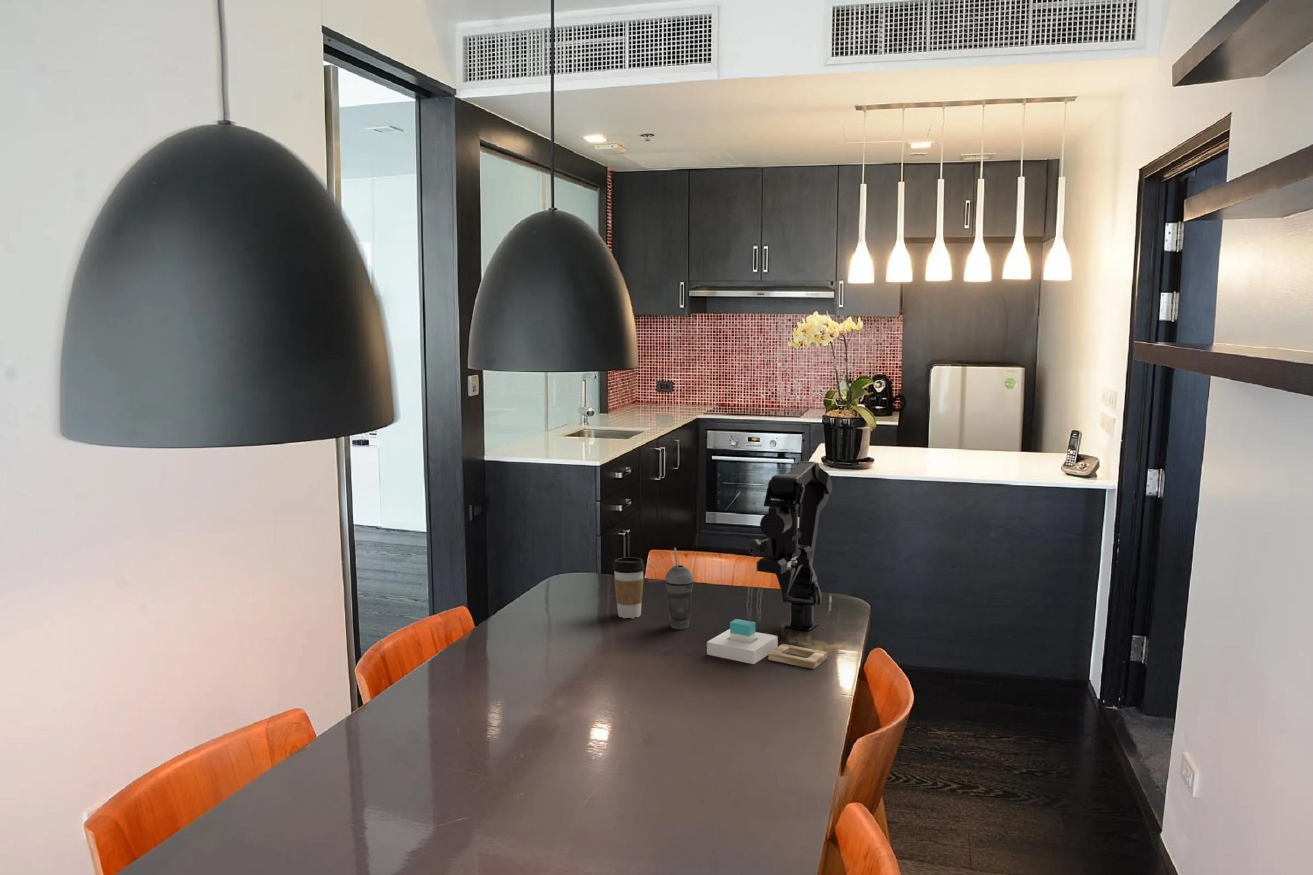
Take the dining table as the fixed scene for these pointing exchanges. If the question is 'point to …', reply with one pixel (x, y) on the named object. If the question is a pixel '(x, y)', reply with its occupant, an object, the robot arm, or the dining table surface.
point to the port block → (742, 647)
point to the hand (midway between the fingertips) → (785, 594)
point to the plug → (742, 631)
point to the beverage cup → (679, 594)
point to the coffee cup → (629, 586)
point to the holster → (782, 656)
